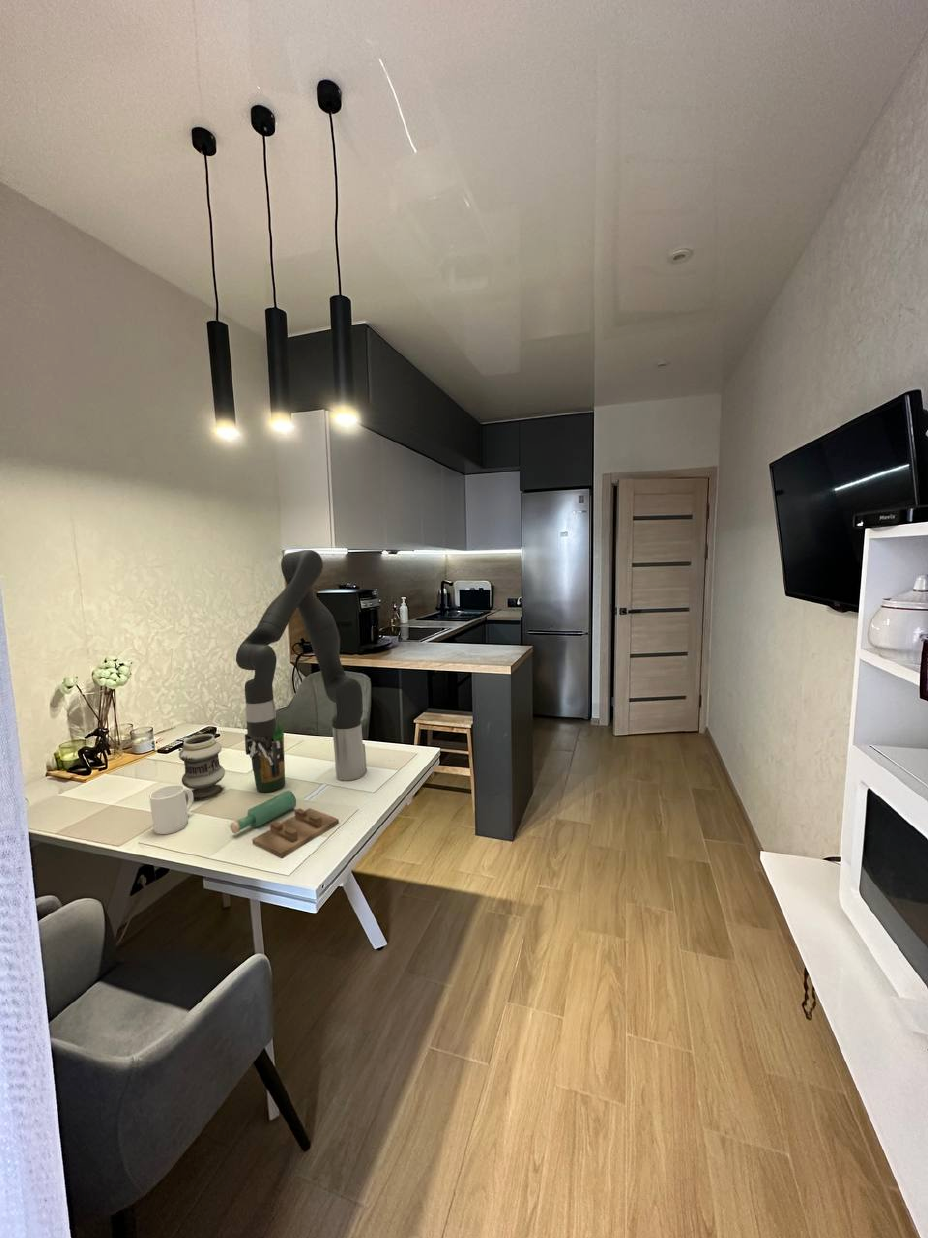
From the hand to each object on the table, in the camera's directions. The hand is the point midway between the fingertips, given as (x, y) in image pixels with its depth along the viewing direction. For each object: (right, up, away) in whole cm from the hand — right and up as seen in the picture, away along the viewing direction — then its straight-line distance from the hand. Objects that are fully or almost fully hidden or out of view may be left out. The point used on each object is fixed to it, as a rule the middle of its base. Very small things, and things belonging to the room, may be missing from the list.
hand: (266, 773), depth 138 cm
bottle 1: (-7, -11, +21) cm, 25 cm away
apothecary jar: (-26, -12, +19) cm, 35 cm away
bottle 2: (0, -13, 0) cm, 13 cm away
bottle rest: (+11, -14, -7) cm, 19 cm away
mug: (-25, -15, +1) cm, 29 cm away
